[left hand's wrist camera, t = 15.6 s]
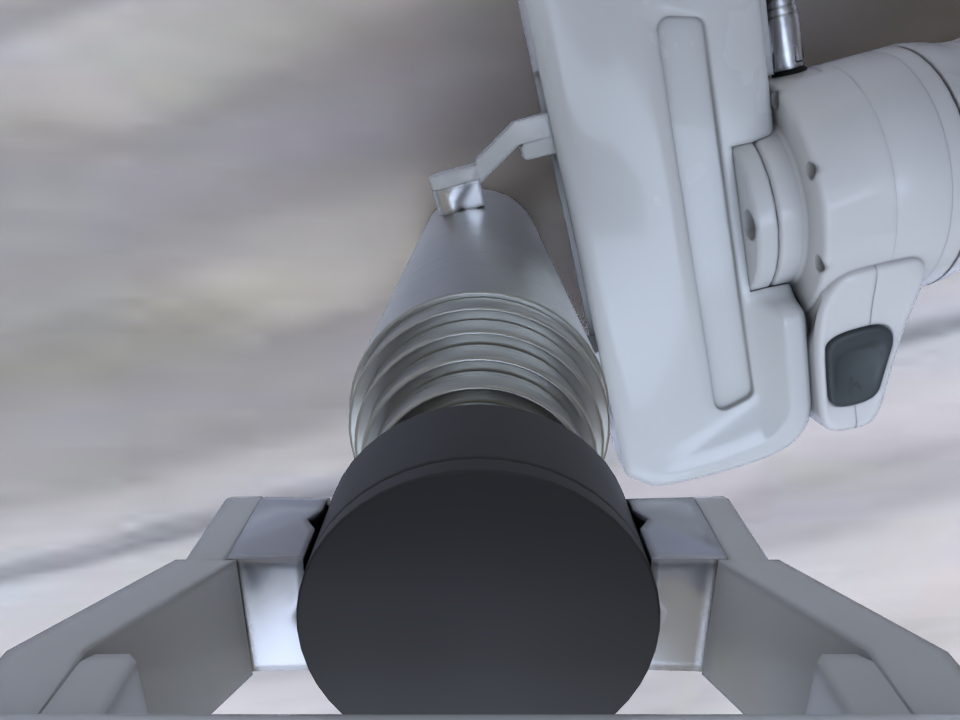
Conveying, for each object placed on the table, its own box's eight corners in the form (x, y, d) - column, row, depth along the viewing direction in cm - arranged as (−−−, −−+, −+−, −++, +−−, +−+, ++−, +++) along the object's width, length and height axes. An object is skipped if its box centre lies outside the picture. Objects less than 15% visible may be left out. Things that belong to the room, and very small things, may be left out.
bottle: (542, 190, 31) (718, 418, 8) (535, 306, 33) (663, 763, 10) (421, 187, 31) (249, 407, 8) (422, 303, 33) (283, 755, 10)
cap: (336, 383, 9) (302, 447, 8) (660, 423, 10) (700, 495, 8) (319, 643, 11) (289, 747, 9) (598, 672, 11) (620, 779, 9)
